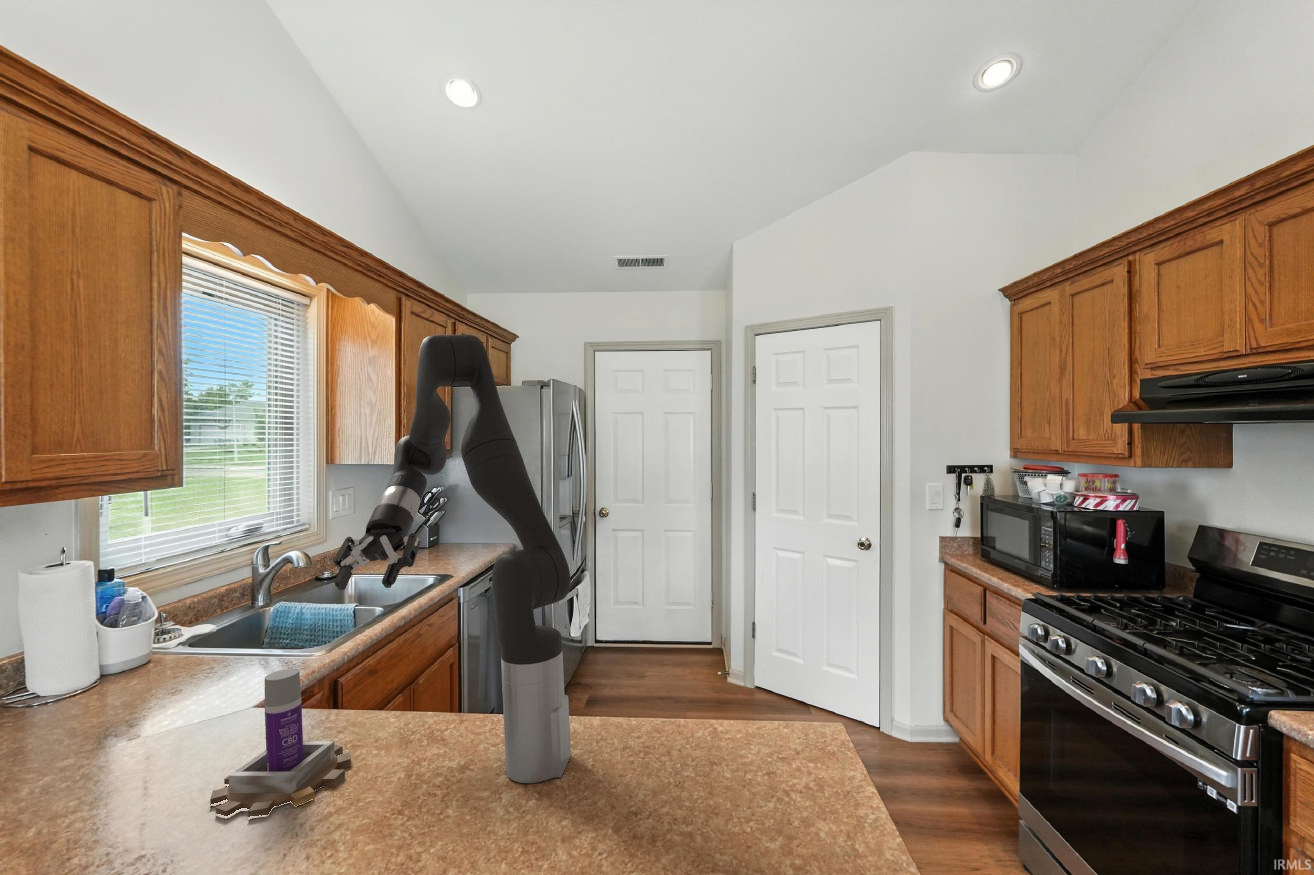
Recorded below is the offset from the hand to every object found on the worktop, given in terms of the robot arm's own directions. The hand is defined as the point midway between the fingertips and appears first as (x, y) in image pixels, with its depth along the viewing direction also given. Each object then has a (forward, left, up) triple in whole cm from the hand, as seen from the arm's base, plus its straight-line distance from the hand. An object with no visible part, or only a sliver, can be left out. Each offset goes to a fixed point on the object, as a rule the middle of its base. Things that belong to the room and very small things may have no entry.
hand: (362, 586), depth 99 cm
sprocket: (+5, +13, -26) cm, 30 cm away
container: (+5, +13, -25) cm, 29 cm away
